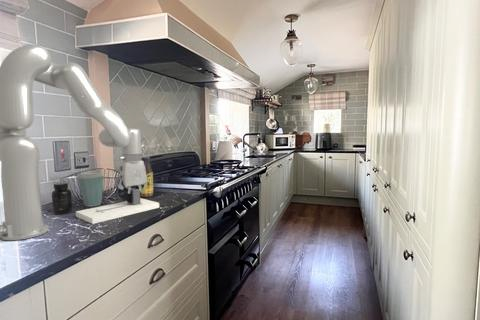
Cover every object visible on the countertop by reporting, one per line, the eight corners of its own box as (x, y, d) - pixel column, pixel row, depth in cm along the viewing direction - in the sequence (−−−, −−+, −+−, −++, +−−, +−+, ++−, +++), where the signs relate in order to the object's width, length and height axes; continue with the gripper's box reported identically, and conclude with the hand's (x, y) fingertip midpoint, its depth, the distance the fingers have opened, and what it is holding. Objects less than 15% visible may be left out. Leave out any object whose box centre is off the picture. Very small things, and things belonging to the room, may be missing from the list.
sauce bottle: (149, 197, 142) (147, 157, 140) (137, 197, 143) (136, 157, 141) (155, 194, 148) (154, 156, 146) (144, 194, 150) (143, 156, 148)
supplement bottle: (55, 211, 119) (53, 182, 118) (74, 209, 122) (72, 181, 120) (50, 215, 113) (48, 185, 112) (70, 214, 115) (68, 184, 114)
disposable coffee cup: (87, 209, 122) (85, 174, 120) (73, 205, 128) (71, 172, 126) (110, 203, 131) (109, 171, 129) (96, 200, 136) (95, 169, 135)
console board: (92, 223, 103) (92, 218, 103) (76, 216, 112) (75, 211, 111) (159, 207, 124) (159, 202, 124) (141, 202, 133) (140, 197, 133)
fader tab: (133, 204, 120) (133, 190, 119) (127, 202, 123) (126, 189, 122) (140, 203, 122) (139, 189, 122) (133, 201, 125) (133, 187, 125)
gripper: (117, 160, 112) (119, 206, 114) (154, 157, 125) (155, 199, 127) (108, 159, 117) (110, 203, 119) (144, 156, 129) (145, 196, 131)
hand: (133, 201), depth 123 cm, fingers closed on fader tab, 3 cm apart
